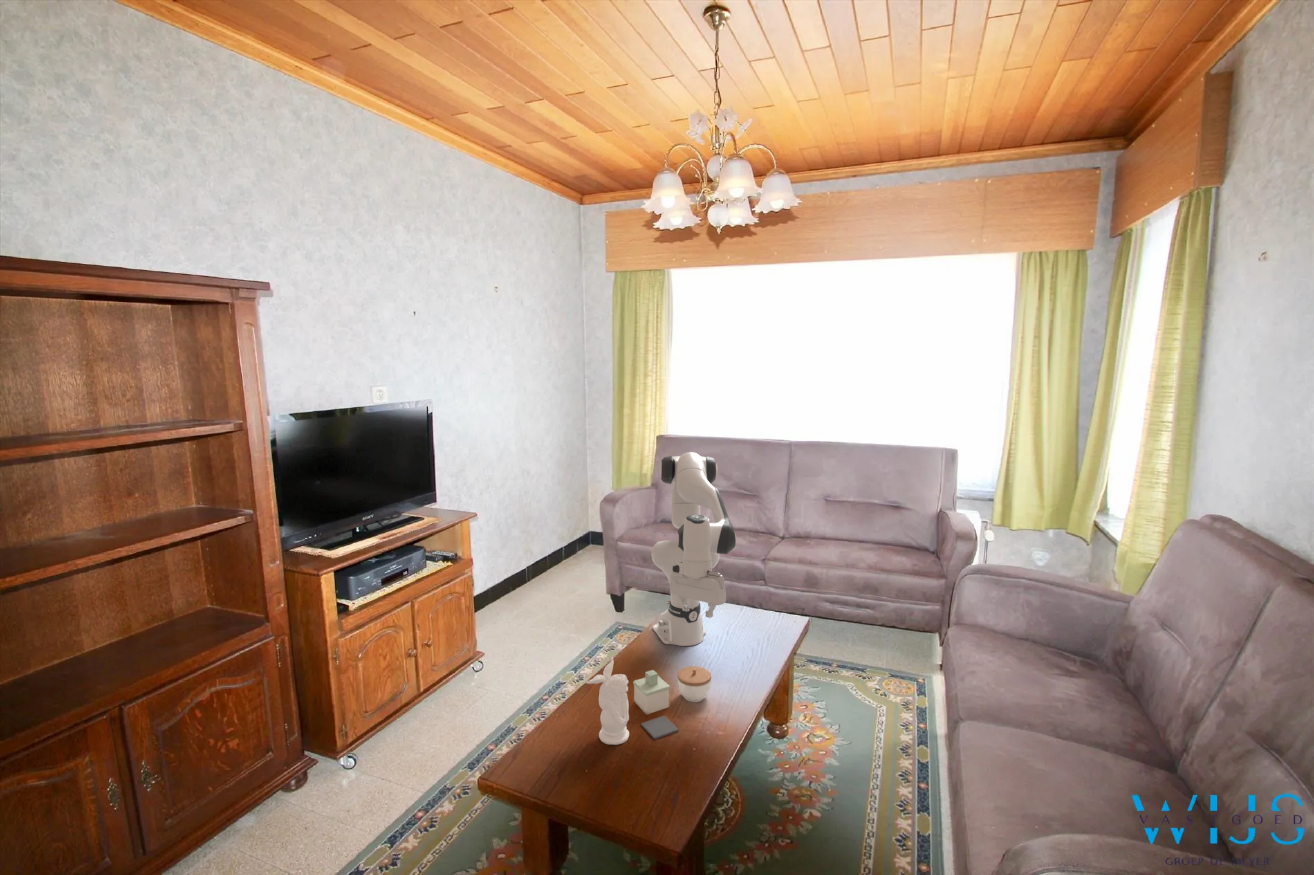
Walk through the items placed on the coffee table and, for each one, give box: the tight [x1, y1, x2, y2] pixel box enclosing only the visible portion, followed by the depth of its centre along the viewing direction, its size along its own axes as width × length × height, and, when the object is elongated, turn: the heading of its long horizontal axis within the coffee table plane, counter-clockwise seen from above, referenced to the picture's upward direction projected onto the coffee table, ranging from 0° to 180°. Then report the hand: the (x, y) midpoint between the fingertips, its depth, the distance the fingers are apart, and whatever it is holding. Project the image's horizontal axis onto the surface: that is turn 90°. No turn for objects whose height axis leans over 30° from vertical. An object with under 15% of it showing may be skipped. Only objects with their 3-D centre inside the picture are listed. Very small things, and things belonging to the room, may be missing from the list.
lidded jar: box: [677, 665, 712, 703], centre depth 195 cm, size 11×11×9 cm
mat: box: [640, 715, 679, 740], centre depth 179 cm, size 8×8×1 cm
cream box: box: [633, 684, 670, 715], centre depth 191 cm, size 8×8×6 cm
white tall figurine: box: [584, 655, 630, 746], centre depth 174 cm, size 12×12×22 cm
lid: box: [632, 669, 671, 696], centre depth 191 cm, size 8×8×4 cm
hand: (697, 613), depth 187 cm, fingers open, 8 cm apart
